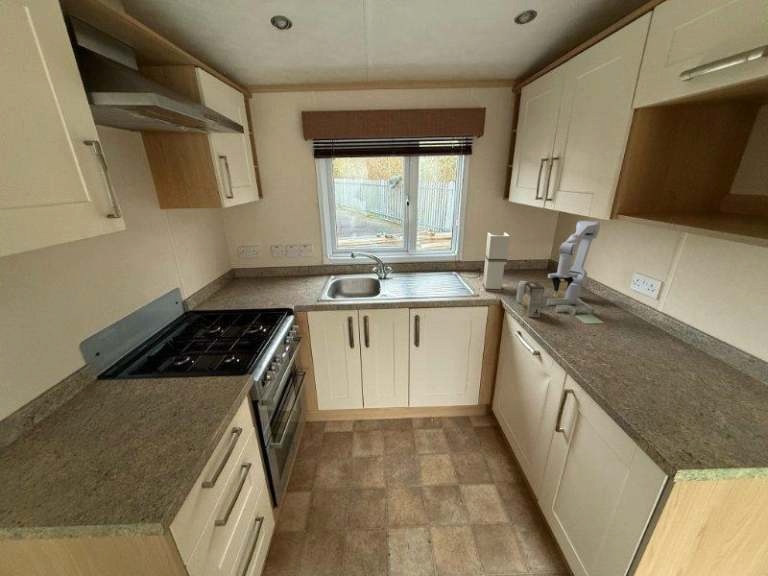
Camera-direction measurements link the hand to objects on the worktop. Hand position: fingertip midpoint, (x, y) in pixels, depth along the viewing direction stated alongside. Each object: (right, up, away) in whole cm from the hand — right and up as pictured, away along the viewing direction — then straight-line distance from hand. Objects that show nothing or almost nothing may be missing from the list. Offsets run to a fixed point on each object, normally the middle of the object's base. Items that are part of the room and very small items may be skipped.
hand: (560, 290), depth 161 cm
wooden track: (+5, -10, +1) cm, 12 cm away
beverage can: (-15, -7, +12) cm, 20 cm away
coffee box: (-17, -12, -2) cm, 21 cm away
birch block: (0, -3, +1) cm, 4 cm away
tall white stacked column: (-24, +1, +34) cm, 41 cm away
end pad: (+8, -14, -10) cm, 19 cm away
